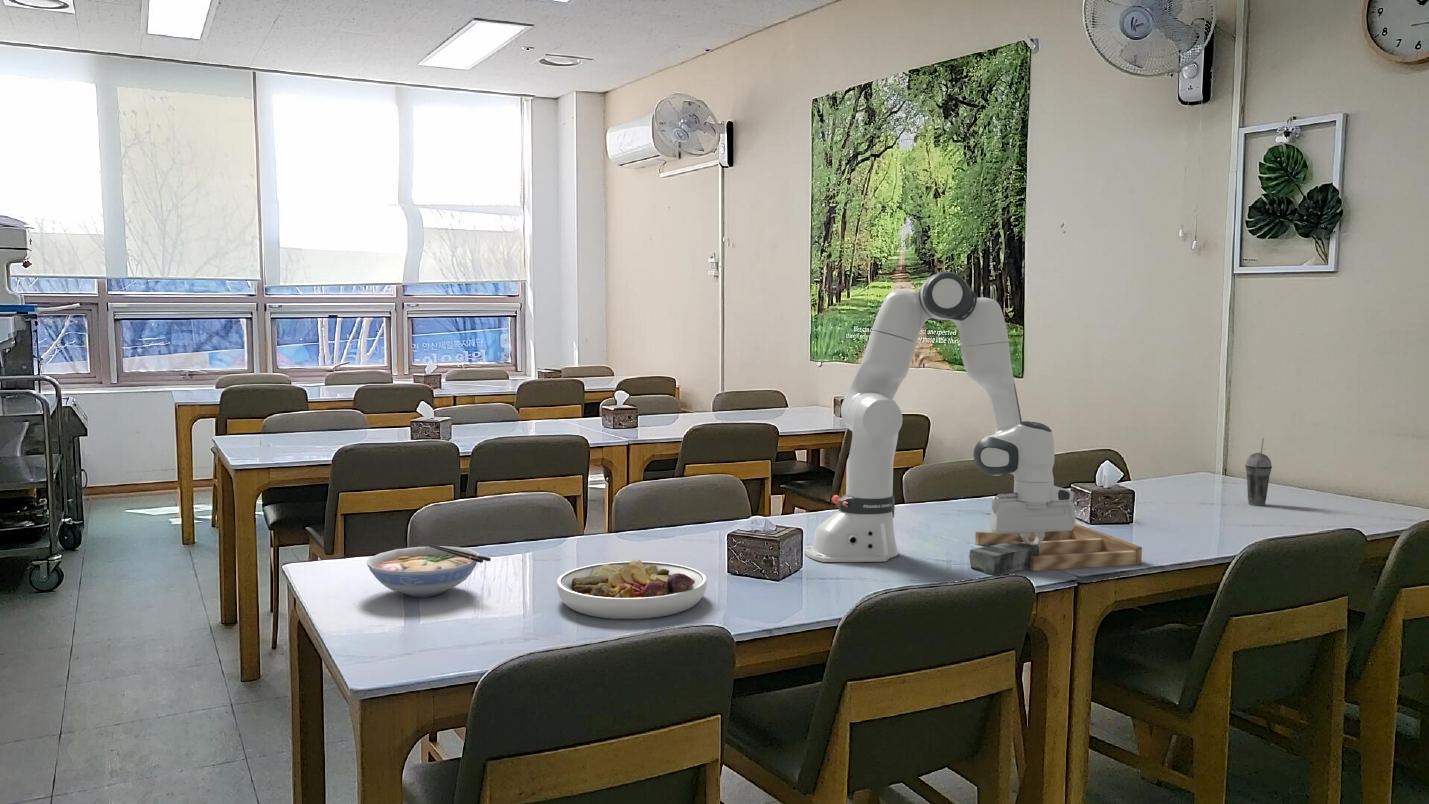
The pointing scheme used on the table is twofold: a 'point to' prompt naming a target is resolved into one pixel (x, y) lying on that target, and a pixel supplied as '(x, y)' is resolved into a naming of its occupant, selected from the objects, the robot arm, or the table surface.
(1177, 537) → the table surface
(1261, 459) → the beverage cup
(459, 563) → the ramen bowl
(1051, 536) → the walnut block
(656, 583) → the bowl
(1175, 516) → the table surface
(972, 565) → the stone block
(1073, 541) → the divided wooden tray
